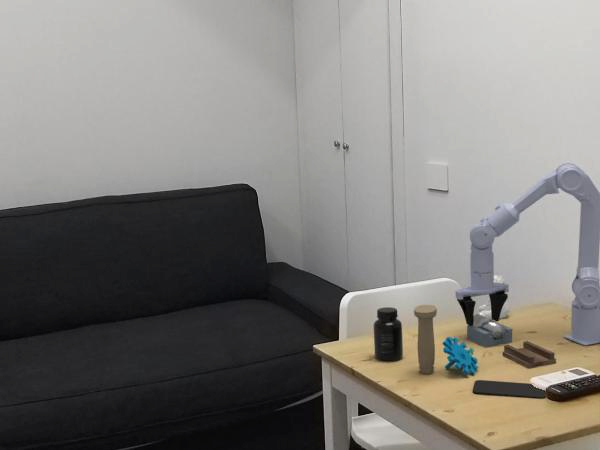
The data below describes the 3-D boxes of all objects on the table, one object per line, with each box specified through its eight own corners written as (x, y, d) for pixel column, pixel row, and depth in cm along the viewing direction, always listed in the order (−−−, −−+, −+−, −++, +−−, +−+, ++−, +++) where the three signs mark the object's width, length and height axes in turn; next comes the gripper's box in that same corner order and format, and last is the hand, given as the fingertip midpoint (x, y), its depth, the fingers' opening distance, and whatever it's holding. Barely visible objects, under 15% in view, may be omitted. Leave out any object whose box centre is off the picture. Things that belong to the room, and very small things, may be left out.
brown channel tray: (529, 350, 196) (529, 340, 195) (555, 362, 187) (555, 352, 186) (502, 355, 193) (502, 345, 193) (528, 368, 184) (528, 357, 184)
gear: (465, 375, 177) (439, 337, 182) (447, 389, 180) (422, 352, 185) (489, 367, 186) (464, 331, 190) (472, 381, 189) (447, 346, 193)
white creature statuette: (478, 311, 231) (478, 270, 229) (510, 312, 228) (510, 270, 226) (477, 321, 222) (476, 278, 220) (509, 322, 219) (509, 279, 217)
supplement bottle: (408, 356, 196) (407, 308, 194) (391, 364, 191) (390, 315, 189) (385, 351, 201) (384, 304, 199) (368, 358, 196) (367, 310, 194)
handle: (413, 376, 183) (411, 312, 180) (418, 366, 189) (417, 304, 186) (434, 377, 181) (433, 313, 179) (439, 367, 187) (438, 305, 185)
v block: (493, 333, 210) (493, 320, 209) (512, 342, 202) (512, 328, 202) (467, 338, 207) (467, 325, 206) (485, 347, 200) (484, 333, 199)
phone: (546, 397, 166) (471, 391, 171) (546, 401, 166) (471, 395, 171) (546, 384, 173) (475, 379, 178) (546, 388, 173) (475, 383, 178)
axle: (471, 327, 209) (471, 314, 208) (482, 326, 210) (483, 313, 209) (493, 339, 200) (494, 326, 199) (505, 337, 201) (506, 324, 200)
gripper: (497, 264, 211) (497, 314, 213) (448, 271, 206) (449, 322, 208) (513, 269, 204) (513, 321, 206) (463, 276, 199) (464, 330, 201)
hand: (482, 322), depth 207 cm, fingers open, 7 cm apart
